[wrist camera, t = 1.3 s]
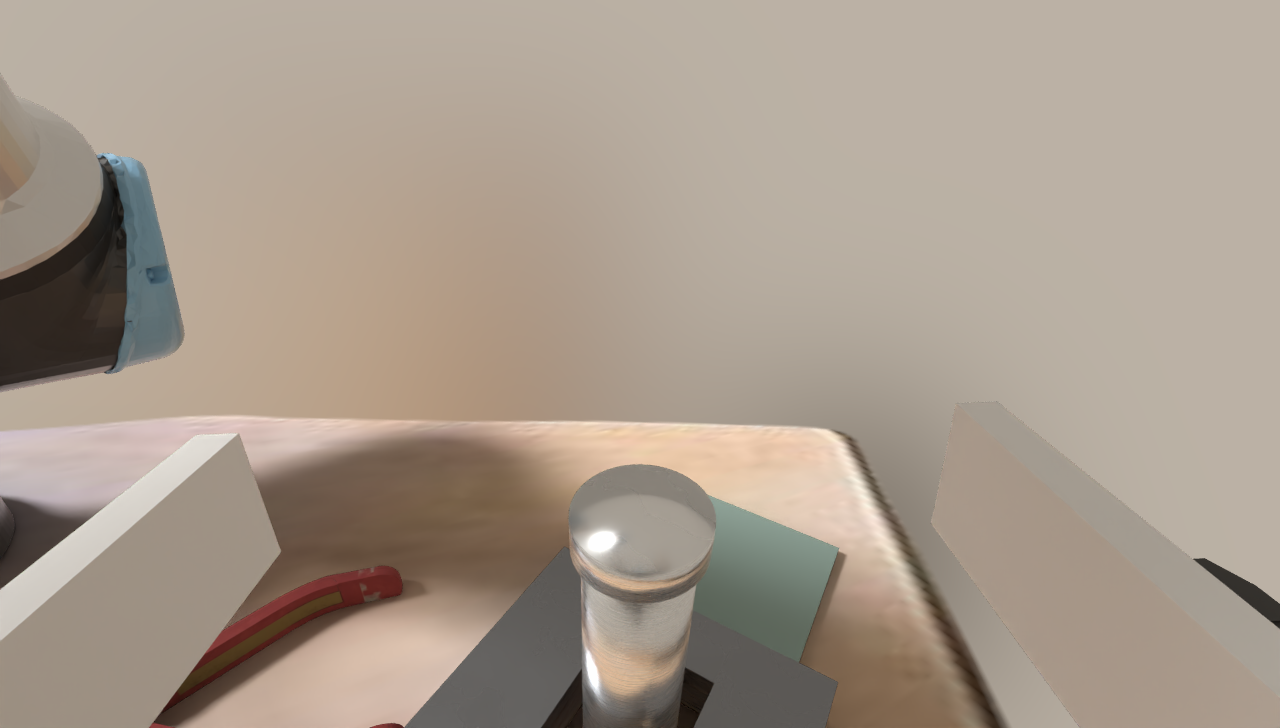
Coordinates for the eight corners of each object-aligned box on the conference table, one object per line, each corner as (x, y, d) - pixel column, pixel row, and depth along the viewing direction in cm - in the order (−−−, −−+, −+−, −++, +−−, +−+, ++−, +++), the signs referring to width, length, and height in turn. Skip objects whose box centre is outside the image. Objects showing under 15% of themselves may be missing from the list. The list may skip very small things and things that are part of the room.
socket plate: (413, 764, 27) (402, 729, 26) (565, 580, 36) (564, 546, 35) (739, 1017, 21) (751, 989, 19) (825, 716, 30) (838, 682, 28)
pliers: (-14, 679, 30) (-42, 648, 29) (405, 580, 37) (399, 550, 35) (-188, 976, 21) (-241, 952, 20) (411, 776, 27) (402, 747, 26)
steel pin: (552, 760, 28) (537, 530, 20) (611, 669, 32) (617, 448, 24) (650, 826, 26) (676, 598, 18) (700, 720, 30) (738, 496, 22)
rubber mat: (601, 583, 36) (602, 576, 36) (674, 487, 44) (675, 481, 44) (792, 680, 32) (794, 673, 31) (837, 554, 39) (839, 548, 39)
